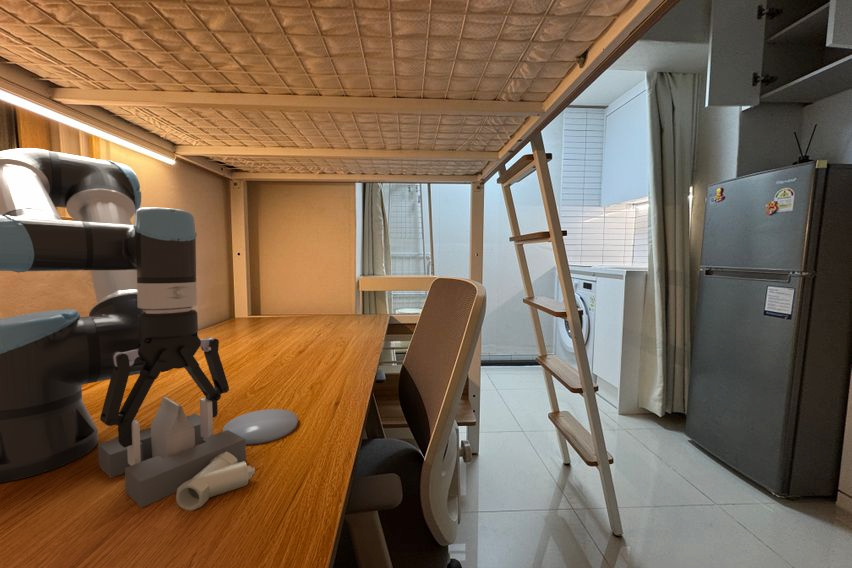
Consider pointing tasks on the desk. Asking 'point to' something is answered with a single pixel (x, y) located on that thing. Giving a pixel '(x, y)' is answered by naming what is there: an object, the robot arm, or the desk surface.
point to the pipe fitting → (214, 481)
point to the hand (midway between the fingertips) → (173, 450)
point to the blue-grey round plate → (263, 425)
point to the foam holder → (166, 462)
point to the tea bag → (171, 430)
